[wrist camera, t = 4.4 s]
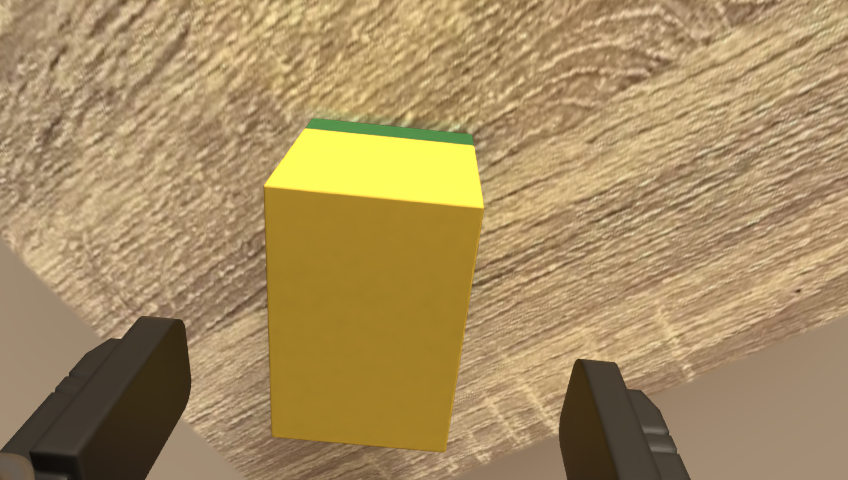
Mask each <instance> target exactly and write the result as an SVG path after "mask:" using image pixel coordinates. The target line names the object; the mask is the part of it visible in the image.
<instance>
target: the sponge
mask: <svg viewBox="0 0 848 480" xmlns="http://www.w3.org/2000/svg"><path fill="white" fill-rule="evenodd" d="M264 210H265V242H266V274H267V306H268V338H269V370H270V402H271V434H272V437H277V438H288V439H299V440H311V441H322V442H333V443H344V444H355V445H366V446H377V447H388V448H399V449H410V450H421V451H433V452H445V451H446V446H447V440H448V434H449V427H450V421H451V415H452V408H453V402H454V396H455V389H456V383H457V377H458V370H459V364H460V358H461V351H462V345H463V339H464V332H465V326H466V320H467V314H468V307H469V301H470V295H471V288H472V282H473V276H474V269H475V263H476V257H477V250H478V244H479V238H480V231H481V225H482V219H483V212H484V204H483V198H482V192H481V185H480V179H479V173H478V167H477V161H476V154H475V148H474V144H473V138H472V135H470V134H462V133H452V132H442V131H432V130H423V129H413V128H403V127H393V126H384V125H374V124H364V123H354V122H344V121H335V120H325V119H315V118H314V119H312V120H311V121H310V122H309V124H308V125H307V127H306V128H305V129H304V130H303V132H302V133H301V134H300V136H299V137H298V139H297V140H296V141H295V143H294V144H293V145H292V147H291V148H290V150H289V151H288V152H287V154H286V155H285V157H284V158H283V159H282V161H281V162H280V164H279V165H278V166H277V168H276V169H275V171H274V172H273V173H272V175H271V176H270V178H269V179H268V180H267V182H266V183H265V185H264Z"/></svg>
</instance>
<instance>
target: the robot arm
mask: <svg viewBox="0 0 848 480" xmlns="http://www.w3.org/2000/svg"><path fill="white" fill-rule="evenodd" d="M190 390H191V372H190V364H189V355H188V347H187V339H186V330H185V325H184V323H183V321H182V320H180V319H171V318H161V317H150V316H142V317H140V318H139V319H138V320H137V321H136V322H135V323H134V324H133V325H132V327H131V328H130V329H129V330H128V332H127V333H126V334H125V335H124V336H123V338H122V339H114V338H110V339H109V340H107V341H106V342H104V343H102V344H101V345H99V346H98V347H96V348H94V349H93V350H91V351H89V352H88V353H86V354H85V355H84V357H83V358H82V359H81V360H80V361H79V362H78V363H77V364H76V366H75V367H74V368H73V369H72V370H71V371H70V372H69V376H68V377H65V378H64V379H63V380H62V382H61V383H60V384H59V385H58V386H57V387H56V388H55V392H54V393H51V394H50V395H49V396H48V397H47V398H46V400H45V401H44V402H43V403H42V404H41V405H40V406H39V407H38V409H37V410H36V411H35V412H34V413H33V414H32V416H31V417H30V418H29V419H28V420H27V421H26V422H25V423H24V424H23V426H22V427H21V428H20V429H19V430H18V431H17V432H16V434H15V435H14V436H13V437H12V438H11V439H10V441H9V442H8V443H7V444H6V445H5V446H4V447H3V448H2V450H1V451H0V480H145V479H146V477H147V475H148V473H149V471H150V470H151V468H152V466H153V464H154V463H155V461H156V459H157V457H158V456H159V454H160V452H161V450H162V448H163V447H164V445H165V443H166V441H167V440H168V437H169V436H170V434H171V433H172V431H173V429H174V427H175V426H176V424H177V422H178V420H179V419H180V417H181V415H182V413H183V411H184V410H185V408H186V405H187V402H188V399H189V395H190ZM559 441H560V448H561V453H562V457H563V462H564V466H565V471H566V475H567V480H691V479H690V477H689V475H688V473H687V470H686V468H685V466H684V464H683V462H682V459H681V457H680V455H679V454H677V448H676V446H675V443H674V442H673V439H672V437H671V436H669V430H668V428H667V426H666V423H665V421H664V419H663V417H662V414H661V412H660V410H659V409H658V408H657V407H656V406H655V405H654V404H653V403H652V402H651V400H650V399H649V398H648V397H647V396H646V395H645V394H644V393H643V392H642V391H641V390H632V389H627V388H626V385H625V383H624V380H623V378H622V375H621V373H620V370H619V368H618V366H617V364H616V363H615V362H606V361H596V360H586V359H577V360H576V361H575V363H574V366H573V369H572V373H571V377H570V381H569V385H568V389H567V392H566V396H565V400H564V404H563V408H562V412H561V416H560V423H559Z"/></svg>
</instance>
